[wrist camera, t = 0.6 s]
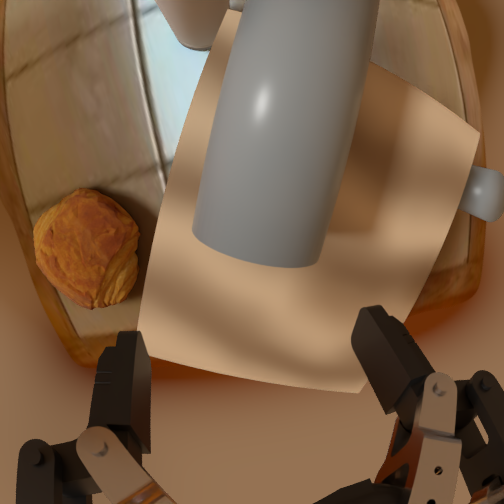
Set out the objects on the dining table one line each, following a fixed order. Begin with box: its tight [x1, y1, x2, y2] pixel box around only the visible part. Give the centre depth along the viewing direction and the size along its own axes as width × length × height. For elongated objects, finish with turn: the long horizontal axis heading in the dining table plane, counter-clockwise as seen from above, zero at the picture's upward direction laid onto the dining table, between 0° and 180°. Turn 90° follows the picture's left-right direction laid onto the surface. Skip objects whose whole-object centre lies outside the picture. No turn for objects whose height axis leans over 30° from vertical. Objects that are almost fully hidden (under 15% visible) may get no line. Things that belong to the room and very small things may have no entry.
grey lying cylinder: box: [192, 0, 380, 268], centre depth 11 cm, size 6×6×12 cm
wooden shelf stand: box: [137, 9, 480, 393], centre depth 26 cm, size 21×17×20 cm
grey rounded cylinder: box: [457, 165, 504, 222], centre depth 30 cm, size 6×6×12 cm
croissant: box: [33, 188, 141, 310], centre depth 33 cm, size 14×16×8 cm
